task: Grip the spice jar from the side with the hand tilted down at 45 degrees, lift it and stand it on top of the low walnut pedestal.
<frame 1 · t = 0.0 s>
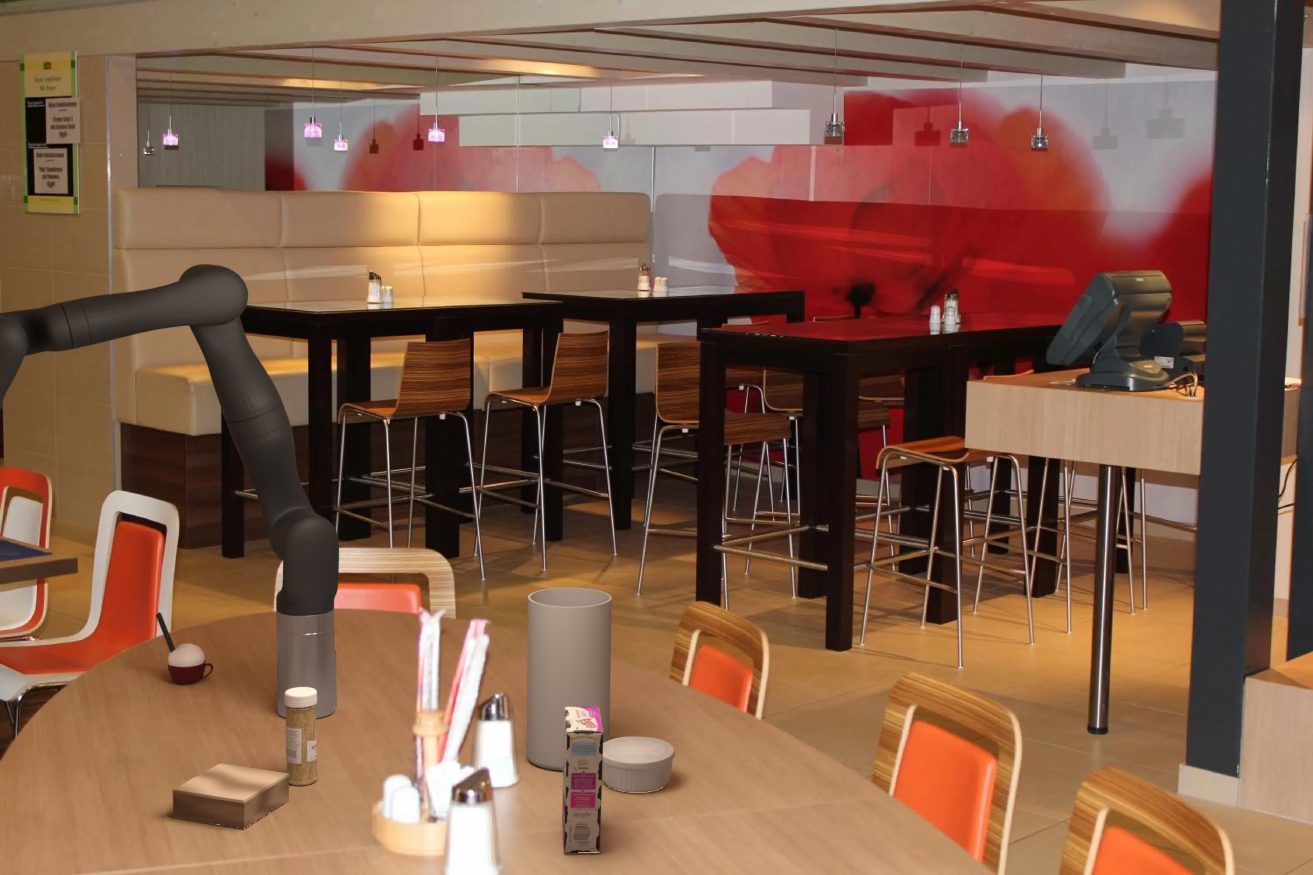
candy bar box: (581, 839, 204), on the table
spice jar: (301, 782, 223), on the table
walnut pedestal: (232, 809, 212), on the table
cylinder vase: (567, 759, 235), on the table
ramekin: (635, 784, 225), on the table
cocoa: (185, 682, 270), on the table
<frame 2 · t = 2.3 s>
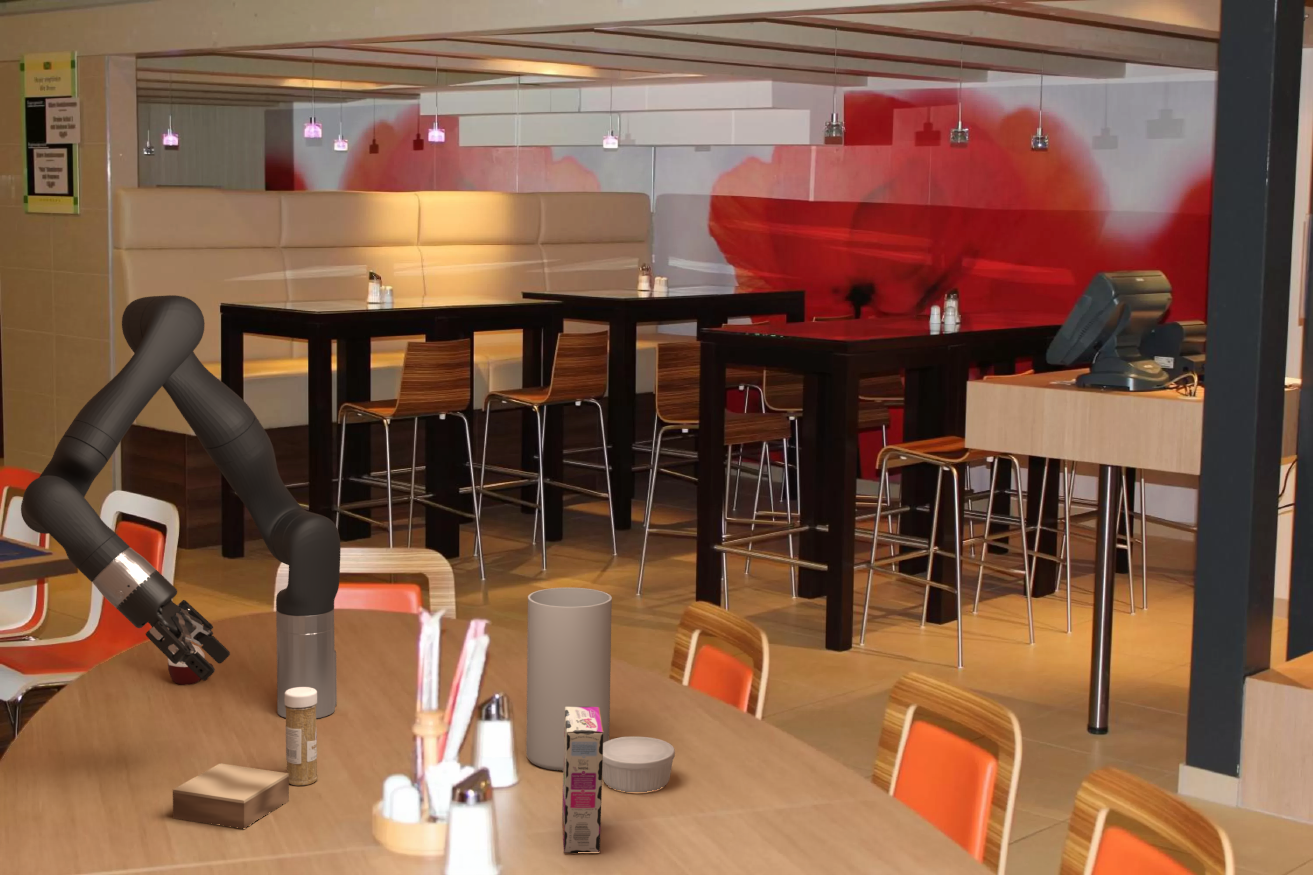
hand: (218, 667, 220), 17 cm above the table, tool tilted 45°, fingers open, 8 cm apart
nothing on the table moved.
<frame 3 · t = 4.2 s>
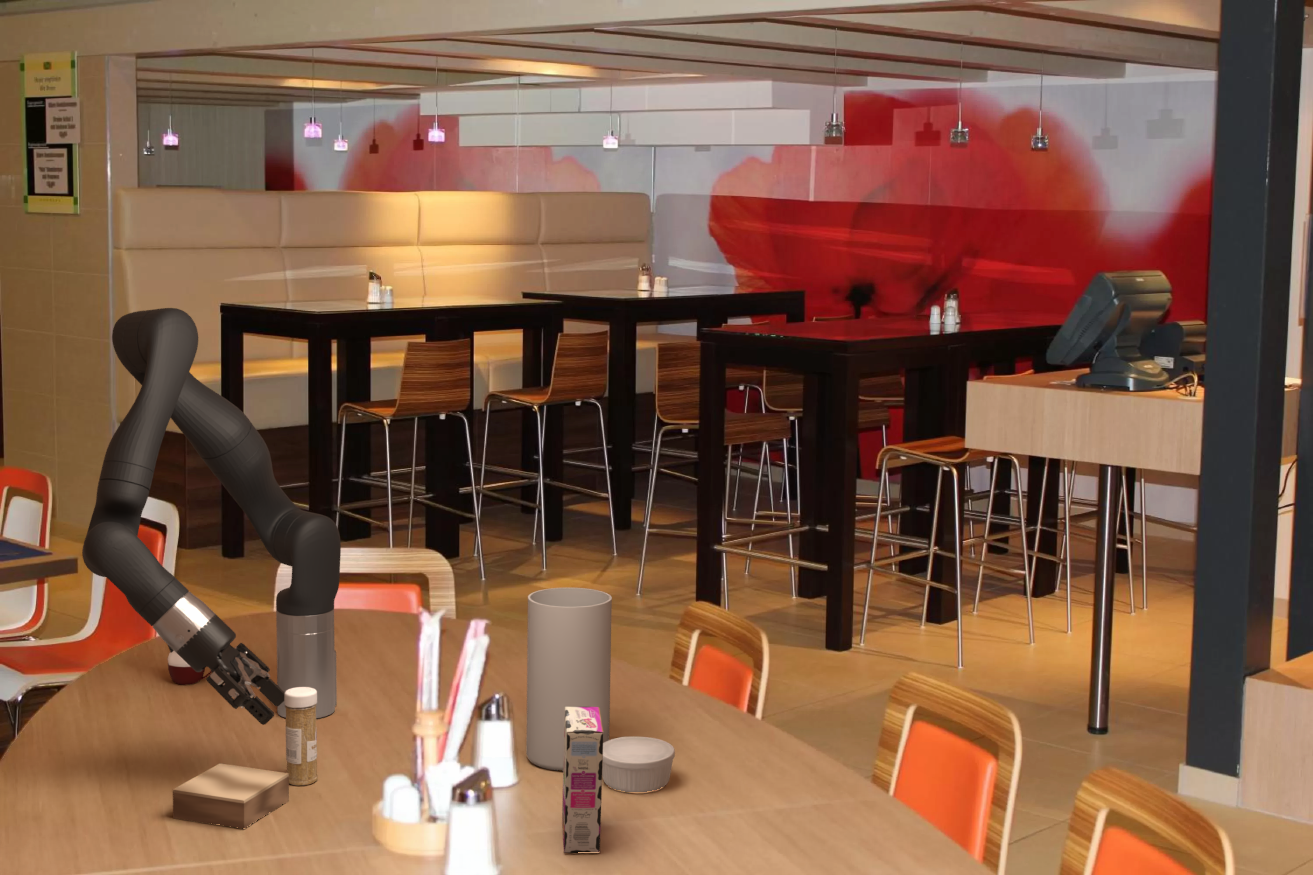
hand: (276, 710, 221), 10 cm above the table, tool tilted 45°, fingers open, 8 cm apart
nothing on the table moved.
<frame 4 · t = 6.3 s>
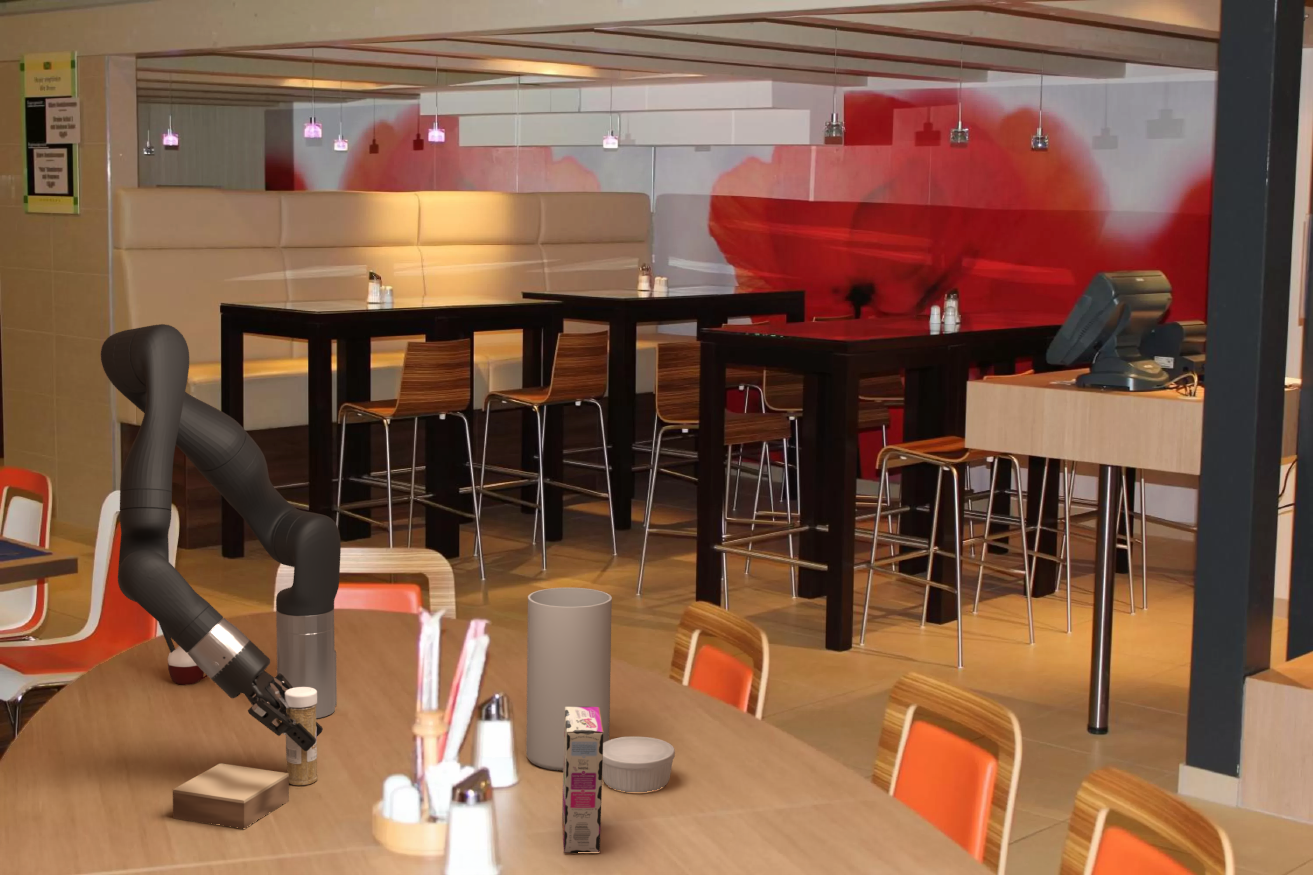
hand: (314, 739, 222), 6 cm above the table, tool tilted 45°, fingers closed on spice jar, 4 cm apart
spice jar: (301, 782, 223), on the table, touching gripper
everything else where it was.
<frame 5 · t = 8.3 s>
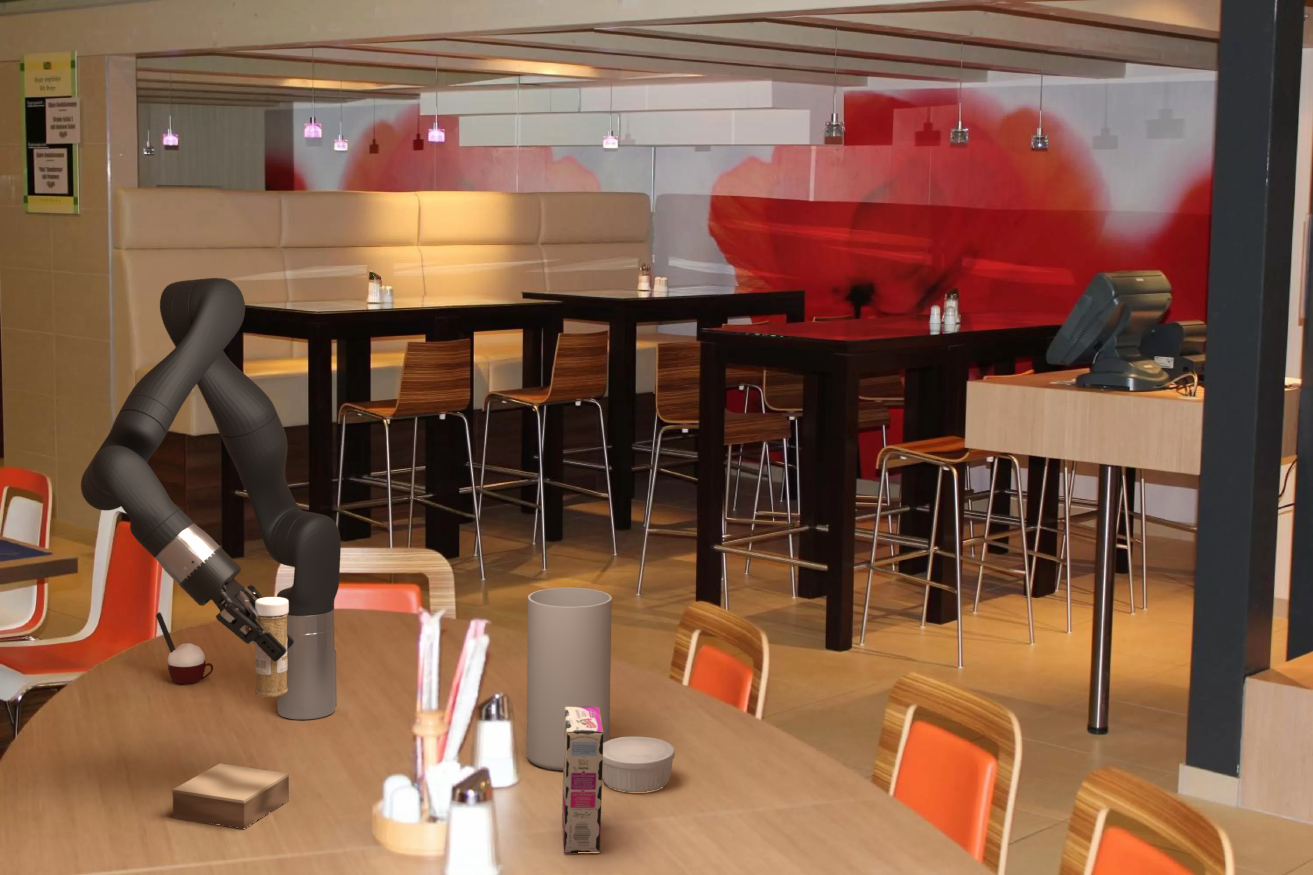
hand: (285, 651, 216), 20 cm above the table, tool tilted 45°, fingers closed on spice jar, 4 cm apart
spice jar: (271, 695, 216), point 14 cm above the table, touching gripper
everything else where it was.
when the fingers open (11 cm above the table, at t = 10.8 s): spice jar drops 1 cm, resting on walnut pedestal.
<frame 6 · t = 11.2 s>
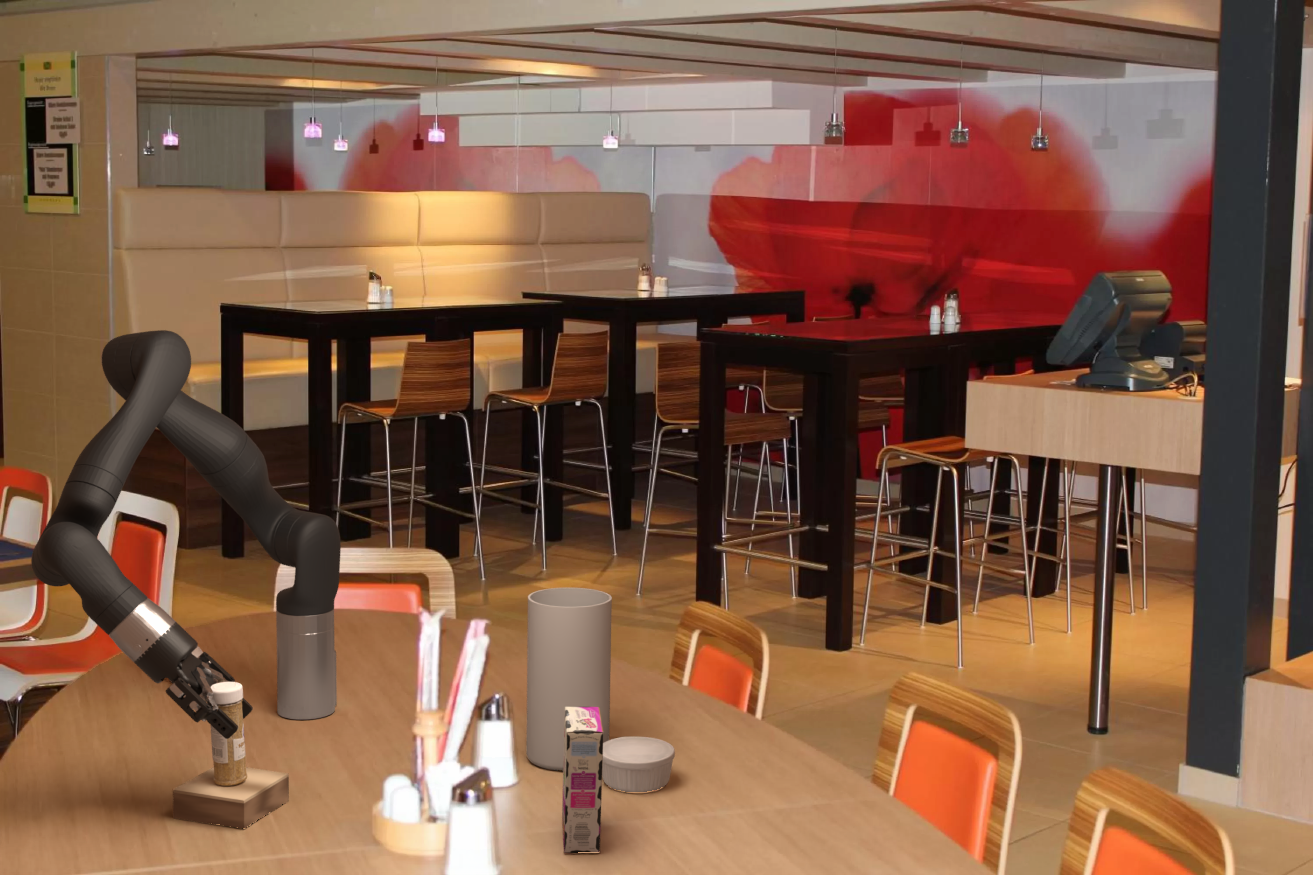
hand: (240, 723, 210), 12 cm above the table, tool tilted 45°, fingers open, 8 cm apart
spice jar: (230, 781, 211), point 4 cm above the table, touching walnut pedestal
everything else where it was.
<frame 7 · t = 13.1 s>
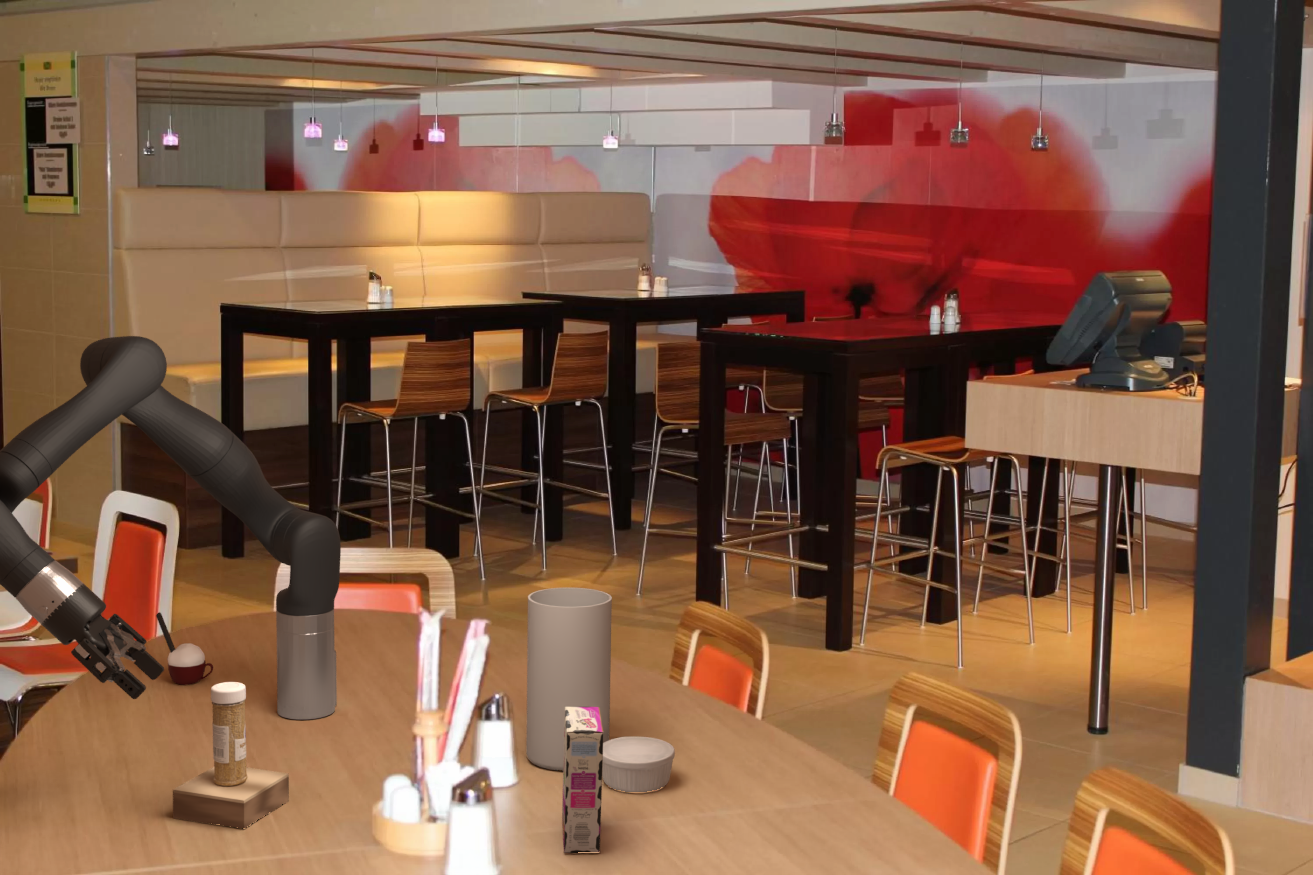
hand: (150, 684, 210), 17 cm above the table, tool tilted 45°, fingers open, 8 cm apart
nothing on the table moved.
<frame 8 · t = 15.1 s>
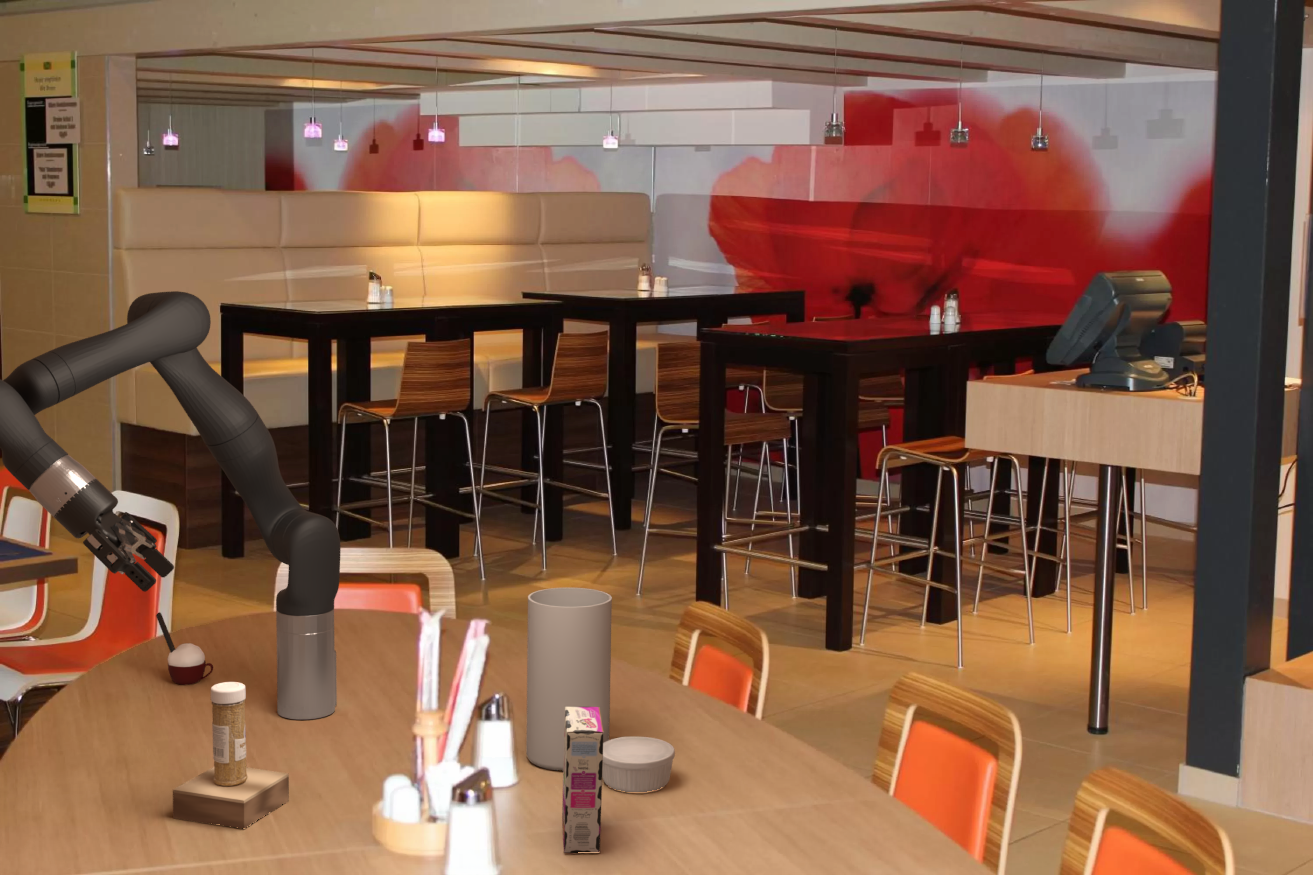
hand: (160, 579, 212), 31 cm above the table, tool tilted 45°, fingers open, 8 cm apart
nothing on the table moved.
at the end: spice jar inside the target area on the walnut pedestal (0.2 cm from its centre), point 3.8 cm above the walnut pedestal's base; spice jar tilted 0°; the gripper is holding nothing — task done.
